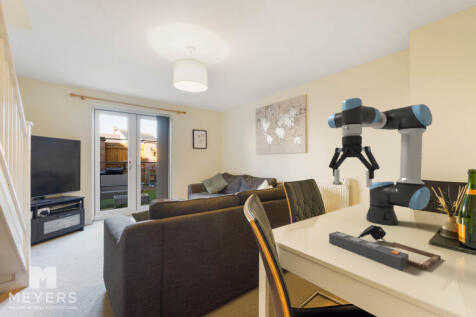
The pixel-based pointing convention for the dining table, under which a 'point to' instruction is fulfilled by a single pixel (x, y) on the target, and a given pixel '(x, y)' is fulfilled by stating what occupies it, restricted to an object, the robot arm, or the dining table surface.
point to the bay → (427, 263)
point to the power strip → (370, 250)
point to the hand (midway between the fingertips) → (352, 185)
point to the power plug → (374, 232)
